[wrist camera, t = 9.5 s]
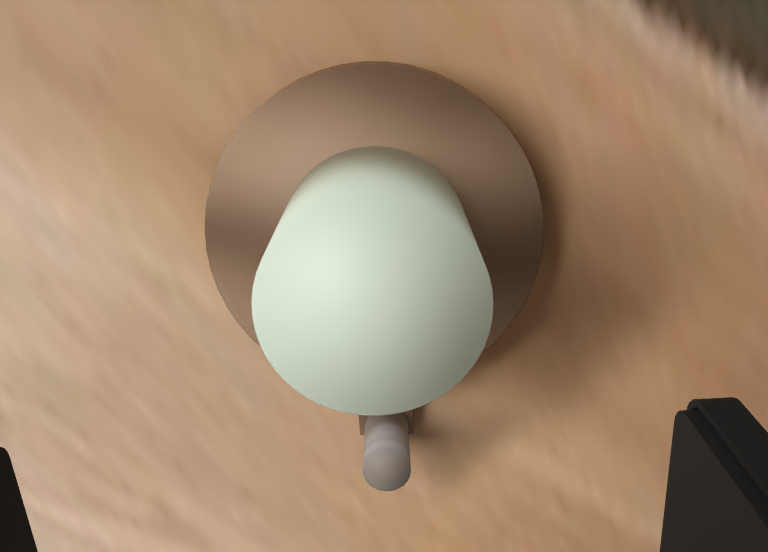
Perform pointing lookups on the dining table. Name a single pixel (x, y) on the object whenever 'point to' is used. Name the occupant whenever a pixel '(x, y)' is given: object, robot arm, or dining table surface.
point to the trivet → (388, 129)
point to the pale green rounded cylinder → (373, 285)
